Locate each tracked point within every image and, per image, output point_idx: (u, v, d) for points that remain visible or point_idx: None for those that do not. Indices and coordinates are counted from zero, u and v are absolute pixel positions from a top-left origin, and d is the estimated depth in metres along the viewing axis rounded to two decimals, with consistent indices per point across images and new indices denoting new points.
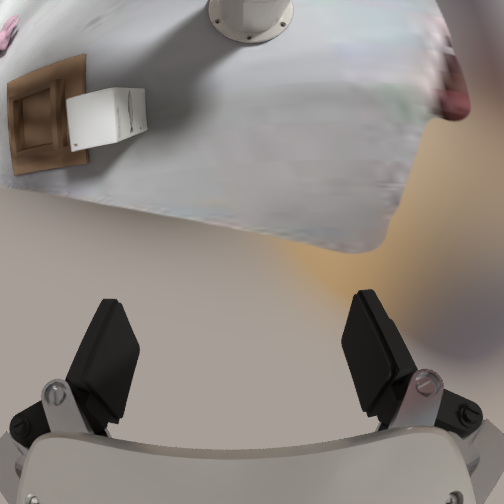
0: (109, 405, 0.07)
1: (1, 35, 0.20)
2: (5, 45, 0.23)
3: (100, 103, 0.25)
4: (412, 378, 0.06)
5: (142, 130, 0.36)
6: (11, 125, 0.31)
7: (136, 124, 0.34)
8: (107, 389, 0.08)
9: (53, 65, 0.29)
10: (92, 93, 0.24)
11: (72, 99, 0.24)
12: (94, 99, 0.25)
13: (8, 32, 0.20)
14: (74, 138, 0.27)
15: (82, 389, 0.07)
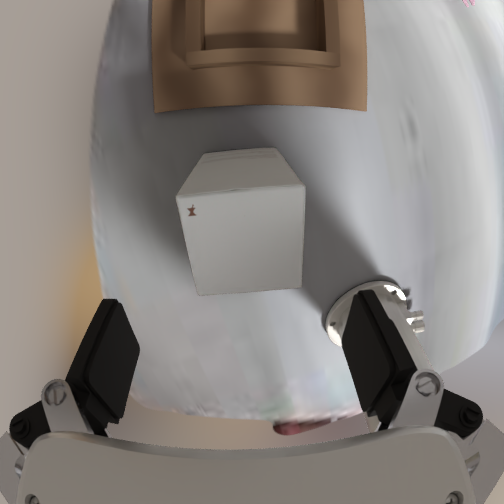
0: (109, 405, 0.07)
1: None
2: None
3: (276, 269, 0.17)
4: (412, 378, 0.06)
5: None
6: None
7: None
8: (107, 389, 0.08)
9: (362, 48, 0.19)
10: (300, 251, 0.17)
11: (300, 203, 0.15)
12: (287, 256, 0.17)
13: None
14: (208, 210, 0.15)
15: (82, 389, 0.07)
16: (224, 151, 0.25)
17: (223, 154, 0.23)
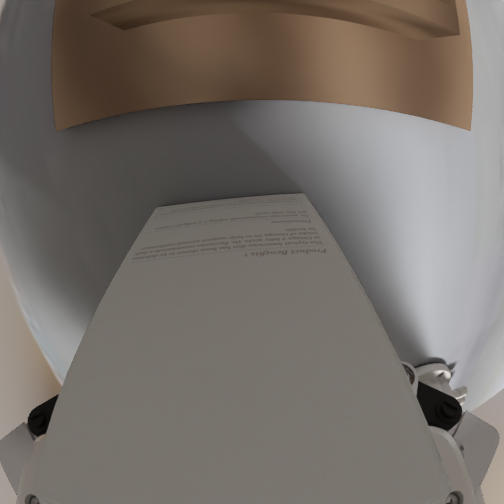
0: None
1: None
2: None
3: None
4: None
5: None
6: None
7: None
8: None
9: (463, 15, 0.06)
10: None
11: None
12: None
13: None
14: None
15: None
16: (196, 205, 0.12)
17: (191, 219, 0.11)
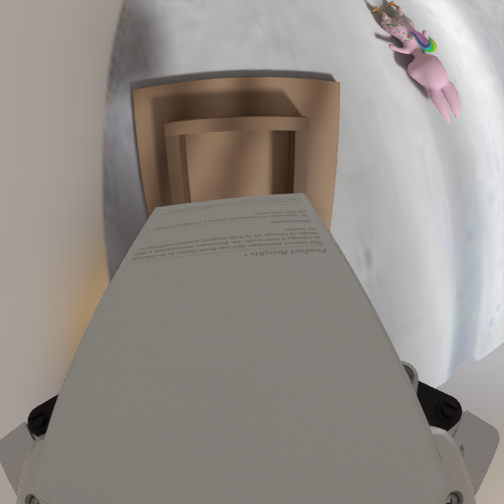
0: None
1: (441, 83, 0.19)
2: (415, 78, 0.21)
3: None
4: None
5: None
6: (241, 122, 0.21)
7: None
8: None
9: (329, 205, 0.29)
10: None
11: None
12: None
13: (438, 102, 0.20)
14: None
15: None
16: (196, 205, 0.12)
17: (190, 219, 0.11)
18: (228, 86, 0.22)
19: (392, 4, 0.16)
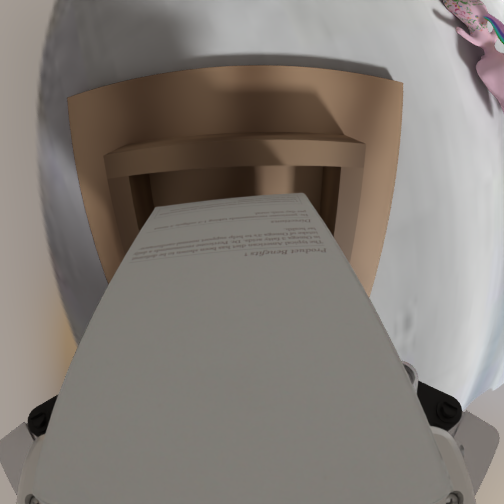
0: None
1: None
2: (487, 83, 0.11)
3: None
4: None
5: None
6: (243, 151, 0.12)
7: None
8: None
9: (371, 271, 0.19)
10: None
11: None
12: None
13: None
14: None
15: None
16: (196, 204, 0.12)
17: (190, 219, 0.11)
18: (219, 81, 0.12)
19: None
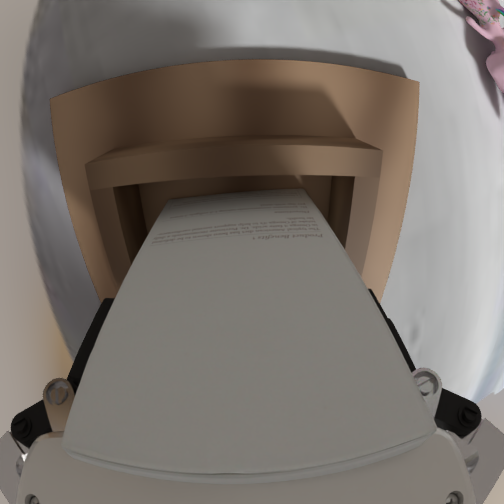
0: None
1: None
2: (498, 79, 0.09)
3: None
4: None
5: None
6: (242, 158, 0.10)
7: None
8: None
9: (380, 285, 0.18)
10: None
11: None
12: None
13: None
14: None
15: None
16: (206, 197, 0.13)
17: (203, 210, 0.12)
18: (215, 77, 0.11)
19: None
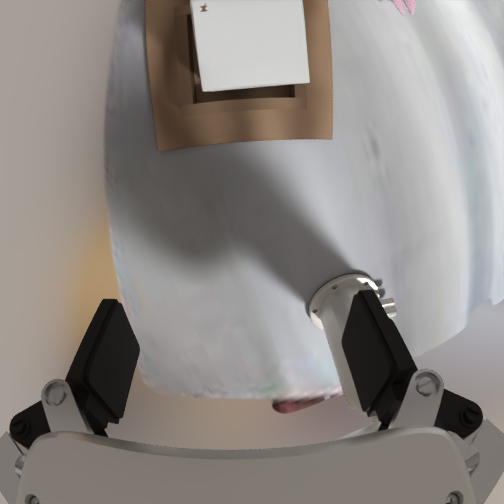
0: (109, 405, 0.07)
1: None
2: None
3: (283, 58, 0.14)
4: (412, 378, 0.06)
5: None
6: None
7: None
8: (107, 389, 0.08)
9: (329, 84, 0.26)
10: (304, 43, 0.14)
11: (298, 4, 0.12)
12: (292, 46, 0.14)
13: None
14: (218, 6, 0.12)
15: (82, 389, 0.07)
16: None
17: None
18: None
19: None
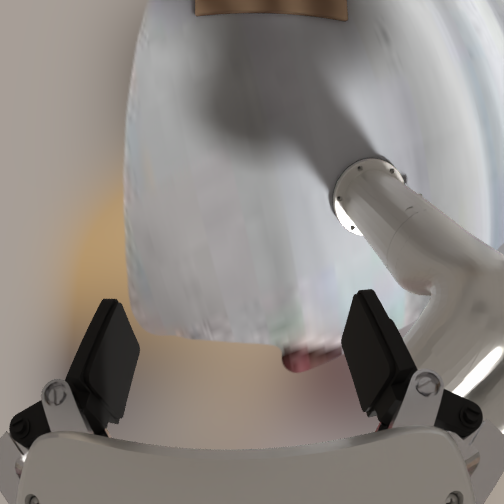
0: (109, 405, 0.07)
1: None
2: None
3: None
4: (412, 378, 0.06)
5: None
6: None
7: None
8: (107, 389, 0.08)
9: None
10: None
11: None
12: None
13: None
14: None
15: (82, 389, 0.07)
16: None
17: None
18: None
19: None
